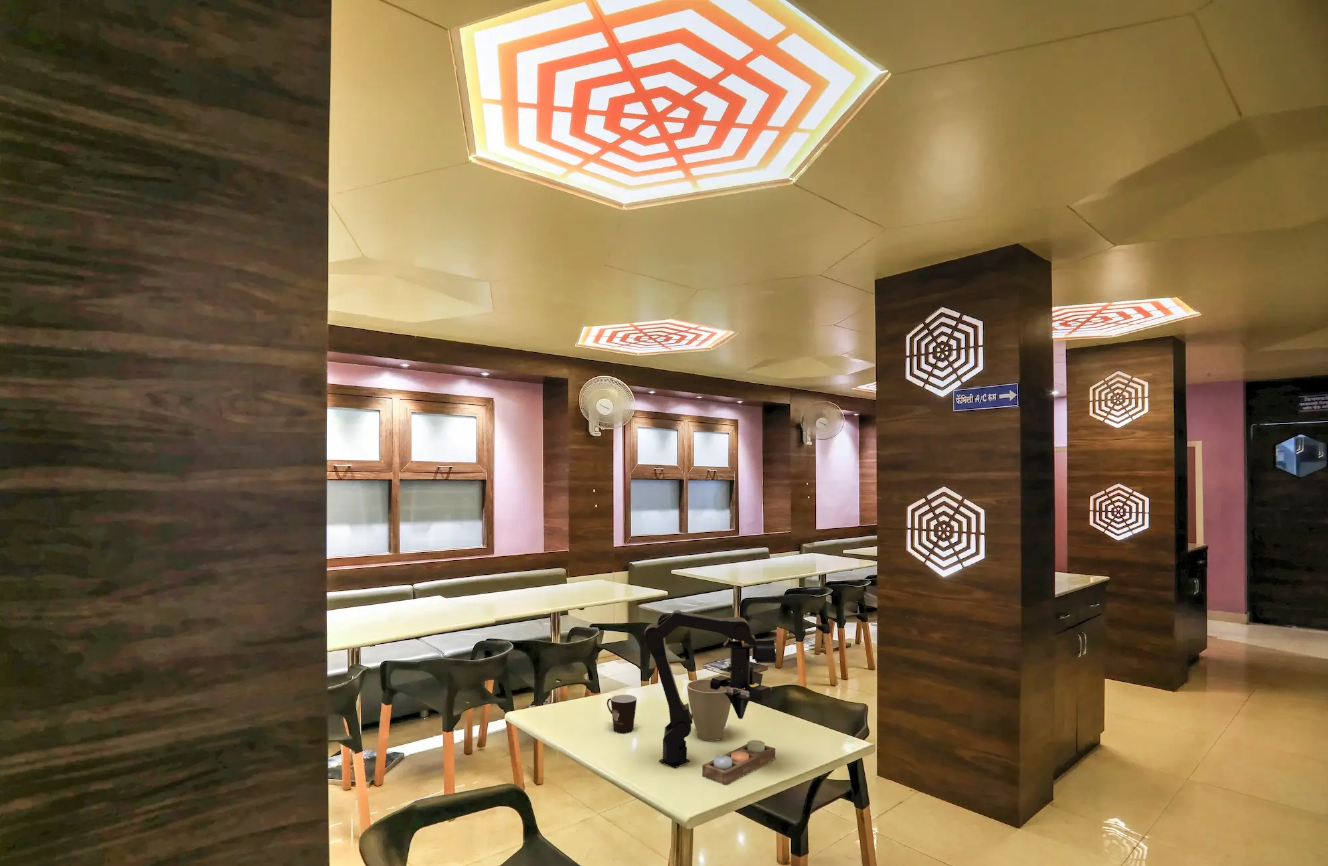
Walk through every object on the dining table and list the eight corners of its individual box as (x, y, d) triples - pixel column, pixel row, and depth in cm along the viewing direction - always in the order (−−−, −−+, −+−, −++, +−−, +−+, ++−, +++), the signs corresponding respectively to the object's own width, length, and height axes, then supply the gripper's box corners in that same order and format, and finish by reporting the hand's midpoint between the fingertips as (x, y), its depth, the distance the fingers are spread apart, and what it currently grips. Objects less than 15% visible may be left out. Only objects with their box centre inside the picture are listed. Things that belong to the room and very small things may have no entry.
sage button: (744, 754, 191) (744, 743, 191) (753, 749, 195) (753, 738, 195) (758, 758, 188) (758, 747, 188) (768, 753, 191) (767, 743, 191)
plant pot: (678, 740, 206) (679, 688, 207) (698, 725, 219) (698, 676, 220) (722, 749, 199) (722, 694, 200) (740, 733, 212) (740, 682, 213)
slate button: (710, 770, 179) (709, 759, 179) (721, 765, 183) (721, 754, 183) (724, 775, 176) (724, 764, 176) (735, 770, 179) (735, 758, 180)
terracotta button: (727, 765, 185) (727, 754, 185) (738, 760, 189) (737, 749, 189) (742, 770, 182) (741, 759, 182) (752, 765, 185) (752, 754, 186)
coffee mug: (640, 732, 212) (640, 700, 213) (614, 736, 209) (615, 703, 210) (628, 721, 223) (629, 691, 224) (604, 724, 220) (604, 693, 221)
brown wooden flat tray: (702, 776, 179) (702, 765, 179) (752, 751, 197) (752, 741, 197) (725, 785, 174) (725, 773, 174) (775, 759, 191) (775, 748, 191)
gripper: (782, 663, 190) (783, 719, 188) (731, 653, 203) (732, 705, 201) (760, 670, 182) (760, 729, 180) (708, 659, 195) (709, 713, 193)
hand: (740, 718), depth 189 cm, fingers closed
